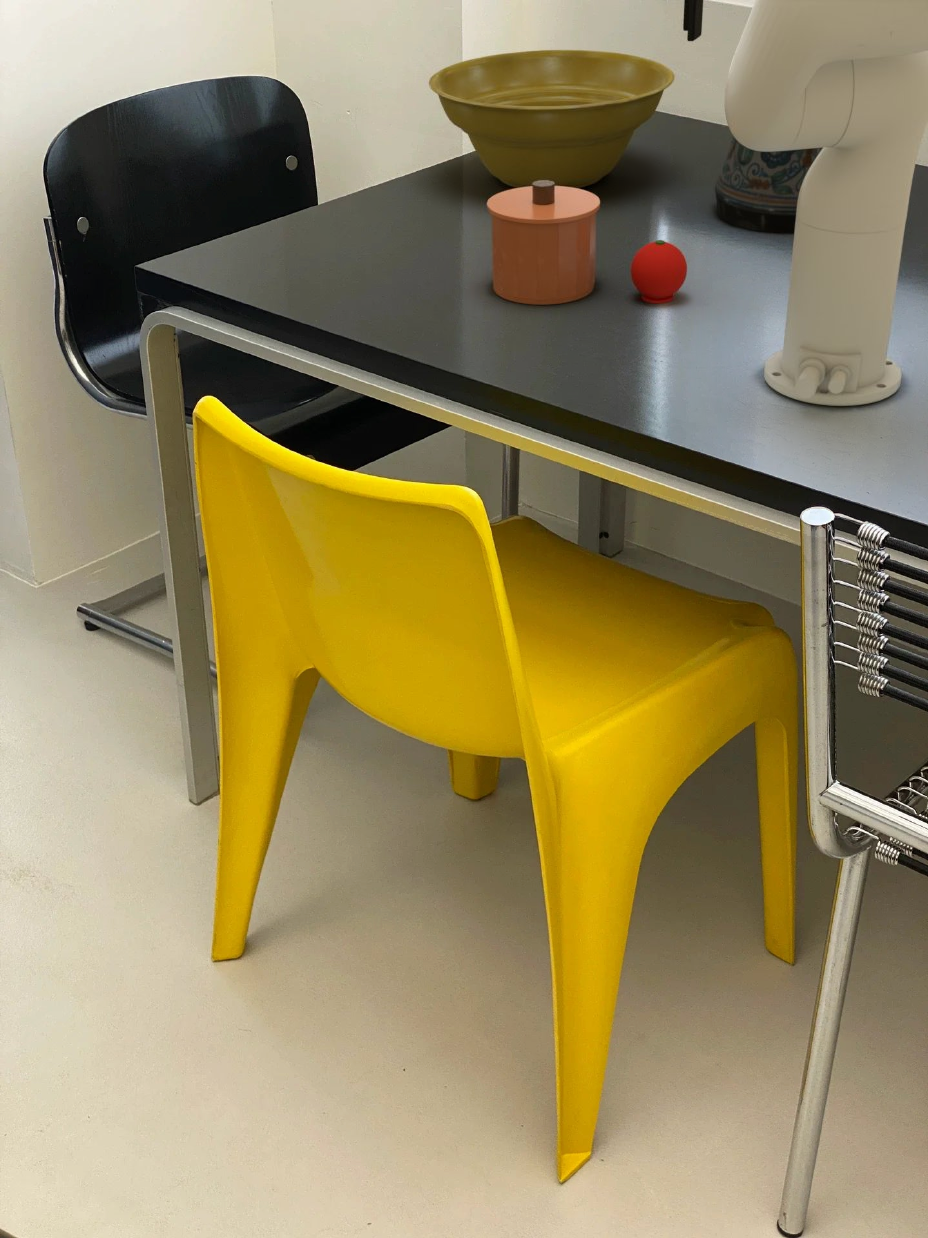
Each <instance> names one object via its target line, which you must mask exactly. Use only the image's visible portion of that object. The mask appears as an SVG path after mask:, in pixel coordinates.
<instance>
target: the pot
mask: <svg viewBox="0 0 928 1238" xmlns="http://www.w3.org/2000/svg"><path fill="white" fill-rule="evenodd" d="M490 215H491V217H490V218H491V257H492V258H491V259H492V261H491V262H492V287H493V291H494V293H495V294H496V295H497V296H499V297H501V298H502V299H504V300H507V301H510V302H513V303H519V304H524V305H536V306H537V305H538V306H539V305H540V306H541V305H543V306H544V305H546V306H547V305H557V304H558V305H559V304H567V303H570V302H575V301H577V300H580V299H583V298H585V297H587V296H588V295H590V294H591V293H592V292H593V291H594V288H595V284H596V246H597V245H596V244H597V239H596V238H597V237H596V236H597V212H596V213H594V214H592V215H590V216H588V217H585V218H582V219H579V220H575V221H569V222H563V223H552V224H530V223H519V222H512V221H508V220H504V219H501V218H498V217H496V216H494V215H492V214H491V213H490Z"/></svg>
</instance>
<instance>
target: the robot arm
mask: <svg viewBox="0 0 928 1238" xmlns="http://www.w3.org/2000/svg"><path fill="white" fill-rule="evenodd" d="M703 12H704V0H684V1H683V19H682V22H683V23H682V28H683V29H682V30H683V31H684V32H687V36H686V39H687V42H694V41H696V40H698V38H700V37H701V36H702V33H703ZM724 115H725V119H726V124H727V126H728V128H729V130H730V132H731V134H732V137H733V136H734V137H735V139H736V140H737V141H738V142H739V143H741V144H742V145H743V146H745V147H747V148H749V149H752V150H755V151H763V152H774V151H788V150H799V149H810V148H821V147H823V149H822V150H821V152H820V153H819V155H818V156H817V157H816V159H815V160H814V162H813V164H812V165H811V167H810V168H809V170H808V172H807V174H806V176H805V178H804V180H803V183H802V185H801V188H800V192H799V196H798V202H797V211H796V222H795V232H793V233H794V234H793V244H792V245H793V246H792V252H791V253H792V255H791V264H790V274H789V275H790V276H789V285H788V295H787V296H788V297H787V303H786V305H787V306H786V314H785V315H786V316H785V327H784V337H783V347H782V349H781V350H778V351H777V352H775V353H774V354H772V355H770V357H768V359H766V361H765V363H764V367H763V368H764V369H763V378H764V381H765V382H766V383H767V385H768V386H770V388H772V389H773V390H775V391H776V392H777V393H779V394H782V395H783V396H785V397H788V398H790V399H793V400H797V401H800V402H804V403H809V404H814V405H822V406H834V407H835V406H836V407H847V406H860V405H868V404H871V403H876V402H879V401H882V400H884V399H887V398H889V397H890V396H893V394H895V393H896V392H897V391H898V390H899V389H900V386H901V382H902V370H901V368H900V367H899V365H898V364H897V363H896V362H895V361H894V360H893V359H891V358H890V357H888V349H889V342H890V336H891V330H892V322H893V315H894V309H895V300H896V294H897V287H898V286H897V285H898V280H899V279H898V278H899V273H900V272H899V271H900V266H901V265H900V264H901V258H902V251H903V243H904V236H905V229H906V222H907V218H908V210H909V204H910V197H911V192H912V191H911V190H912V184H913V178H914V173H915V167H916V163H917V159H918V156H919V151H920V147H921V144H922V140H923V137H924V134H925V130H926V128H927V125H928V0H755V1H754V4H753V6H752V8H751V11H750V13H749V16H748V19H747V21H746V23H745V26H744V28H743V31H742V33H741V36H740V38H739V42H738V44H737V46H736V49H735V52H734V54H733V56H732V60H731V63H730V66H729V70H728V72H727V78H726V83H725V89H724Z"/></svg>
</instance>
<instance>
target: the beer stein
mask: <svg viewBox="0 0 928 1238" xmlns="http://www.w3.org/2000/svg"><path fill="white" fill-rule="evenodd" d="M822 149H823V147H821V148H810V149H799V150H788V151H774V152H763V151H755V150H752V149H749V148H747V147H745V146H743V145H742V144H741V143H739V142H738V141H737V140H736V139H735V137H734V136H733V135H732V137H731V142H730V146H729V149H728V152H727V156H726V158H725V161H724V164H723V166H722V169H721V171H720V173H719V175H718V176H717V178H716V180H715V184H714V193H715V199H716V206H717V213H718V218H720V219H721V220H723V221H725V222H726V223H729V224H730V225H732V226H734V227H739V228H743V229H747V230H751V231H756V232H765V233H778V234H779V233H780V234H784V233H785V234H786V233H787V234H788V233H789V234H790V233H794V232H795V222H796V211H797V202H798V196H799V192H800V188H801V185H802V183H803V180H804V178H805V176H806V174H807V172H808V170H809V168H810V167H811V165H812V164H813V162H814V160H815V159H816V157H817V156H818V155H819V153H820V152H821V150H822Z"/></svg>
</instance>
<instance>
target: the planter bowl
mask: <svg viewBox="0 0 928 1238" xmlns="http://www.w3.org/2000/svg"><path fill="white" fill-rule="evenodd" d="M674 81H675V74H674V72H673V70H672V69H671V68H669V67H668V66H667V65H664V64H663V63H661V62H658V61H656V60H653V59H651V58H650V59H649V58H645V57H642V56H638V55H632V54H625V53H620V52H613V51H602V50H601V51H600V50H586V49H585V50H584V49H542V50H527V51H516V52H515V51H514V52H505V53H499V54H492V55H486V56H481V57H476V58H471V59H467V60H464V61H463V60H462V61H460V62H457V63H453V64H452V65H449V66H446V67H444V68H442V69H440V70H438V71H437V72H436V73H434V74H432V76H431V77H430V78H429V79H428V86H429V88H430V90H432V91H433V92H434V93H435V94H437V96H438V99H439V102H440V104H441V107H442V109H443V111H444V113H445V115H446V117H447V118H448V120H449V121H450V123H452V124H453V125H454V126H456V127H458V128H459V129H460V130H461V131H462V132H464V133H465V134H467V136H468V139H469V141H470V143H471V145H472V146H473V149H474V150H475V152H476V154H477V156H478V158H479V159H480V161H481V162H482V163H483V165H484V167H485V168H486V169H487V171H488V172H489V173H490V175H492V176H494V177H495V178H496V179H499V180H500V181H501V182H502V183H503V184H505V185H507V186H510V187H512V188H521V187H529V186H532V183H533V182H535V181H539V180H549V181H553V182H554V183H555V186H564V187H572V188H577V189H581V188H584V187H587V186H590V185H593V184H596V183H597V182H599V181H600V180H601V179H603V178H604V177H606V175H608V174H610V172H612V171H613V170H614V169H615V167H616V165H617V164H618V162H619V161H620V160H621V158H622V156H623V154H624V153H625V151H626V149H627V147H628V146H629V143H630V141H631V139H632V137H633V134H634V133H635V131H636V130H637V129H638V128H640V126H642V125H643V124H645V123H646V122H648V120H650V119H651V118H652V117H653V115H654V114H655V112H656V111H657V109H658V107H659V104H660V102H661V99H662V97H663V94H664V91H665V90H666V89H667V88H669V87H670V86H671V85H672V84H673V83H674Z"/></svg>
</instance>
